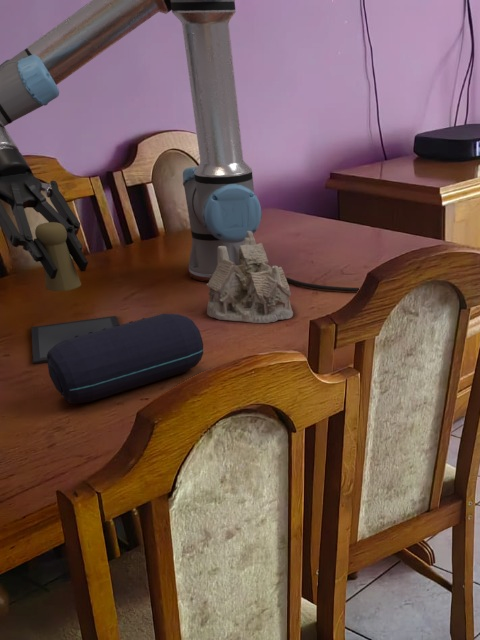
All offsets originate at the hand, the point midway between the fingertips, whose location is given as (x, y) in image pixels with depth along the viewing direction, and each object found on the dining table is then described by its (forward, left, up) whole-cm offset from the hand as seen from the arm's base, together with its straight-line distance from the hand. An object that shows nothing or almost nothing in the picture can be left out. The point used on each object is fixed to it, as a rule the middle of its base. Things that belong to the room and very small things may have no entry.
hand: (69, 270), depth 149 cm
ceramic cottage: (-26, -19, -14) cm, 35 cm away
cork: (+3, -2, -4) cm, 5 cm away
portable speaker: (-16, +19, -14) cm, 29 cm away
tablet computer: (+3, -2, -13) cm, 14 cm away
